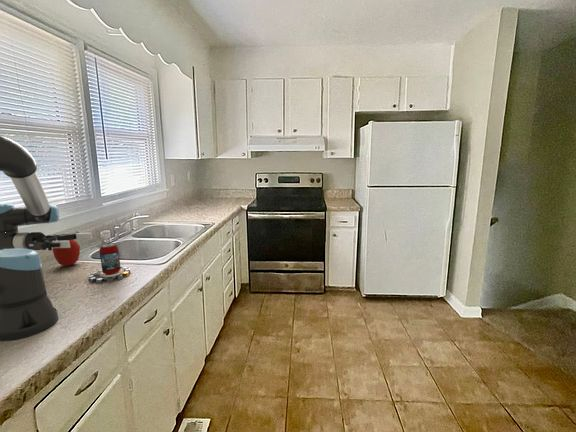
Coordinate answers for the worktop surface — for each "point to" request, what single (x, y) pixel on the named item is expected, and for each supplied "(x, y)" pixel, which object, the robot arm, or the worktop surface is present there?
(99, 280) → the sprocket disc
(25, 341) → the worktop surface
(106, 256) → the beverage can
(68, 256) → the apple
